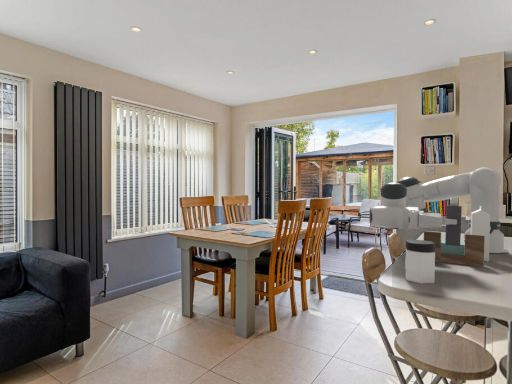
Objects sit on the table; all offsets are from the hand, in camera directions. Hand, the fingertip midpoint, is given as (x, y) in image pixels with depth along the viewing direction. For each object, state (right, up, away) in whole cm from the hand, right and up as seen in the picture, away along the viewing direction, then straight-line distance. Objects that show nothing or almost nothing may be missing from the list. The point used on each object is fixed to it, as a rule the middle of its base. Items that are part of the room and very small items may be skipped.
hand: (456, 221), depth 115 cm
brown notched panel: (+5, -17, +10) cm, 20 cm away
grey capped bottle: (-1, -9, +1) cm, 9 cm away
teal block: (+8, -17, +15) cm, 24 cm away
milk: (+20, -17, +17) cm, 32 cm away
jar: (-21, -17, -15) cm, 31 cm away
